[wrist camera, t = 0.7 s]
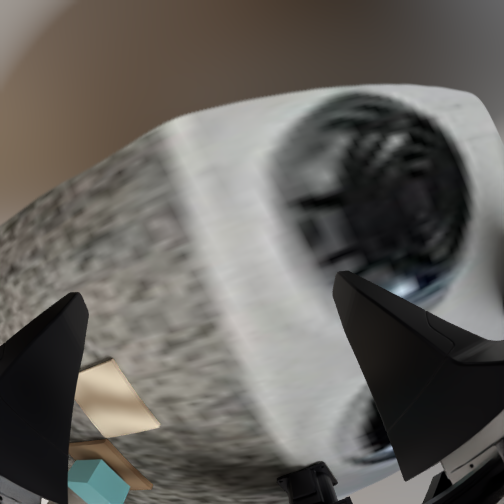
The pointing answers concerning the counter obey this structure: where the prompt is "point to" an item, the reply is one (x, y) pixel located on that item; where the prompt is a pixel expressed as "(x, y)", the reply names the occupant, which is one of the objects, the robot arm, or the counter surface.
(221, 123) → the counter surface
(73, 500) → the thermos bottle
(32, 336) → the robot arm
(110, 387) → the board
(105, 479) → the teal cube
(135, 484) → the post stand
